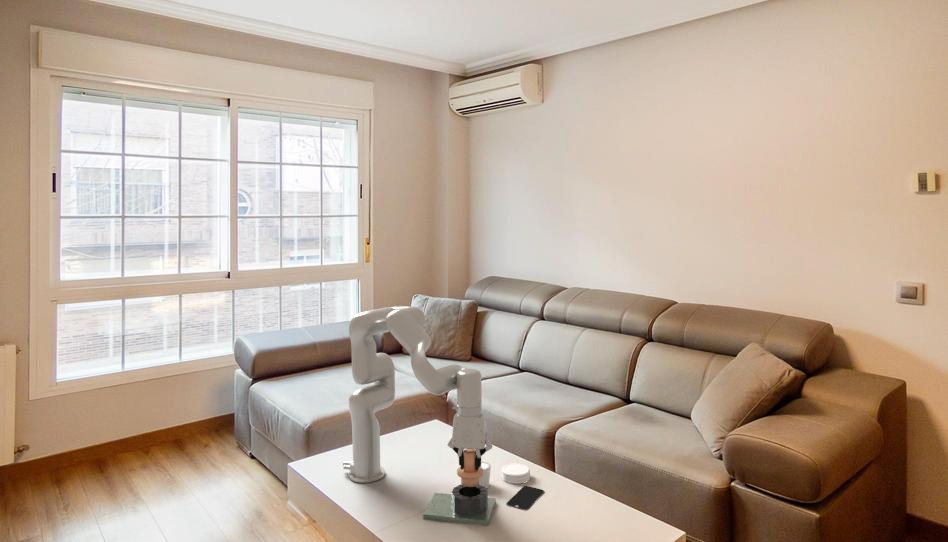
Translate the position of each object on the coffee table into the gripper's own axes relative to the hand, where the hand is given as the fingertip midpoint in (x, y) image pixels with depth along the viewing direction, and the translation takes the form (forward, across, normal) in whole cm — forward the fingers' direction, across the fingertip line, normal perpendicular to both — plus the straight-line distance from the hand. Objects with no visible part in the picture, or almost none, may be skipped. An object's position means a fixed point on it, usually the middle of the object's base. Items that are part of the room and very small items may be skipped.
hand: (470, 467), depth 178 cm
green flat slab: (+14, -3, 0) cm, 15 cm away
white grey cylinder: (+14, 0, +18) cm, 23 cm away
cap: (+5, 0, 0) cm, 5 cm away
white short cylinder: (+15, +11, +26) cm, 32 cm away
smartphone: (+15, +16, +12) cm, 25 cm away
